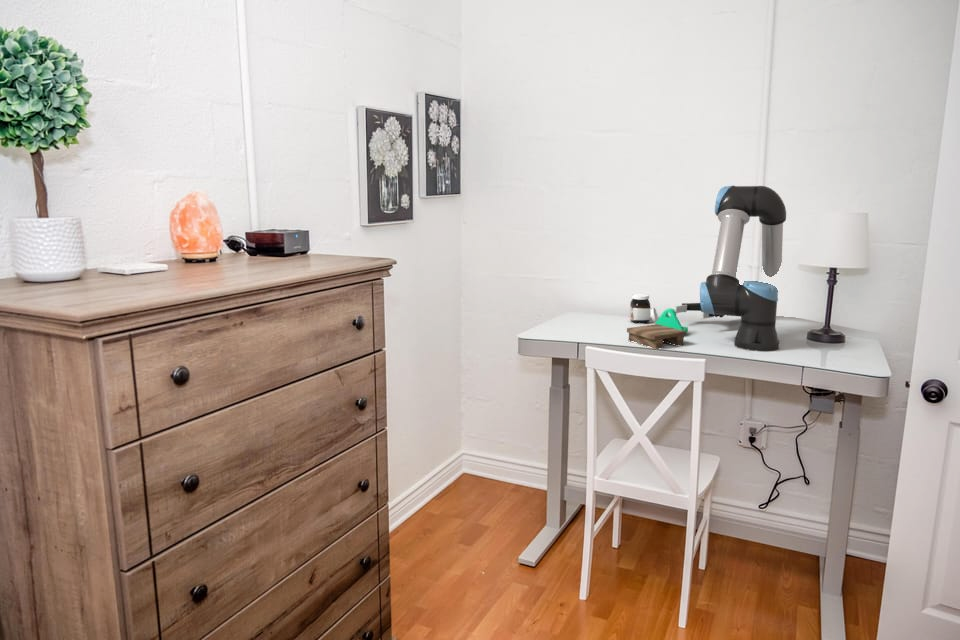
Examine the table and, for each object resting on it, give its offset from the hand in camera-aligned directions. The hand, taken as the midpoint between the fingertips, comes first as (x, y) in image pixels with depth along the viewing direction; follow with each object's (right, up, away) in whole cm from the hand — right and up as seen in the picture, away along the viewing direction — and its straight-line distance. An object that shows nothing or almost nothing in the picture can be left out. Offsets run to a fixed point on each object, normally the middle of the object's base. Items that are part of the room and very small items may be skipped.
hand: (688, 312), depth 276 cm
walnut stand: (-19, -12, -20) cm, 30 cm away
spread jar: (-14, -4, +17) cm, 22 cm away
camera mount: (-9, -9, -4) cm, 13 cm away
